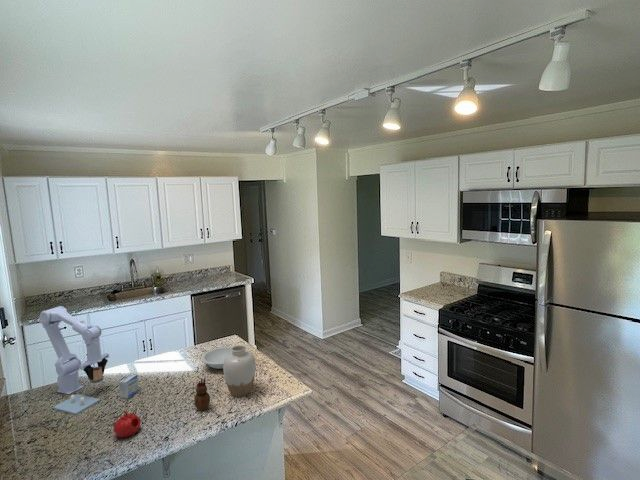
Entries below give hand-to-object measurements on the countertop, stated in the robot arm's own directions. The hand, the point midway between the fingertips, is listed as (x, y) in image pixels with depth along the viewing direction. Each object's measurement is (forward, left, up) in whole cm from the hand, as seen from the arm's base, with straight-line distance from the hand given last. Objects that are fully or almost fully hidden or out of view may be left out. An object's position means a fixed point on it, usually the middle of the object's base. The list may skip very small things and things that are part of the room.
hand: (96, 376), depth 178 cm
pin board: (0, -11, -9) cm, 14 cm away
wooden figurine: (+61, +5, -9) cm, 62 cm away
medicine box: (+17, +4, -9) cm, 20 cm away
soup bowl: (+44, +45, -9) cm, 64 cm away
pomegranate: (+42, -19, -9) cm, 47 cm away
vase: (+70, +23, -9) cm, 74 cm away
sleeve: (0, 0, -2) cm, 2 cm away
